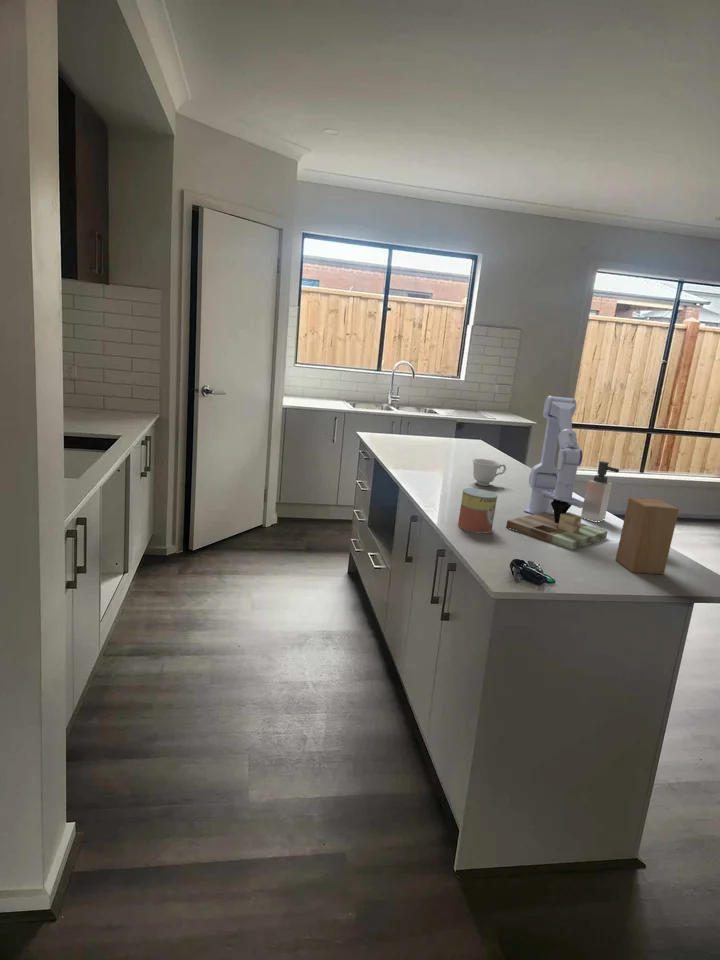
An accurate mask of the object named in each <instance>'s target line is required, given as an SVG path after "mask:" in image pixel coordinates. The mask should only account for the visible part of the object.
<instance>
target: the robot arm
mask: <svg viewBox="0 0 720 960" xmlns="http://www.w3.org/2000/svg"><path fill="white" fill-rule="evenodd" d="M576 410H577V401H576V398H574V397H571V398H570V397H564V396H563V397H562V396H552V395H548V396H546V399H545V401H544V404H543V411H542V412H543V413H542V418H544V419H546V425H545V433H544V438H543V445H542V451H541V457H540V462H539V463H537V464H536V465H533V467H532V468H531V471H530V473H529V477H528V486H529V488H531V495H530V501H529V505H528V508H526V509H523V512H526V513H529V514H531V515H533V514H537V513H541V512H546V513H549V514H553V515H554V518H555V523H557V524H559V520H560V514H562V513H566V512H568V511H569V509H570V508H571V507H572V506H574V507H577V508H579V509H583V506H584V500H581V499H577V498H574V497H573V493H574V488H575V487H574V486H575V484H576V483H575V482H576V476H577V471H578V467H580V466H581V464H582V462H583V450H582V448H581V446H579V445H578V439H577V433H576V431H574V430H573V426H572V425H573V422H572V421H573V419H572V418H573V416H574V414H575V413H576ZM558 443H559V452H558V455H557V460H558V461H557V467H556V466H555V459H556V452H557V448H558V447H557V446H558Z"/></svg>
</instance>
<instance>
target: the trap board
mask: <svg viewBox="0 0 720 960" xmlns="http://www.w3.org/2000/svg"><path fill="white" fill-rule="evenodd" d="M558 525H559V524H557V523H555V518H554V514H549V513H546V512H541V513H537V514H529V515H528V514H527V515H525V516H522V517H521V516H520V517H515V518H511V519H507V520H506V525H505V526H506V527H508V528H507V529H509V528H511V529H510V530H512V529H514V530H513V531H515V530H517V531H516V532H518V531H519V533H521V532H522V534H524V533H525V534H524V535H527V534H528V535H527V536H530V537H532V538H533V537H534V538H535V539H538V540H542V541H544V542H547V543H550V544H554V545H556V546H560V547H562V548H565V549H568V550H571V551H572V550H575V549H578V548H582V547H584V545H585V546H587V544H588V545H590V543H591V544H594V543H596V541H597V542H599V541H598V540H600V541H602V540H601V539H603V540H605V539H604V538H606V539H607V536H608V530H604V529H602V528H598V527H594V526H592V525H589V524H585V523H582V522H581V524H580V529H579V531H576V532H573V533H571V532H568V531H565V530H562V529H559V528H558ZM506 527H505V528H506ZM593 542H594V543H593Z"/></svg>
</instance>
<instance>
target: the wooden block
mask: <svg viewBox="0 0 720 960" xmlns="http://www.w3.org/2000/svg"><path fill="white" fill-rule="evenodd" d="M627 500H628V502H627V505H626V510H625V515H624V518H623V519H624V520H623V524H622V529H621V533H620V539H619V543H618V547H617V552H616V556H615V561H617V563H619V564H620V565H622V566H623V567H625V569H627V570H628V571H630V572H631V573H635V574H636V573H637V574H638V573H639V574H651V575H664V574H665V570H666V567H667V562H668V557H669V553H670V550H671V549H670V548H671V545H672V541H673V537H674V532H675V528H676V523H677V520H678V515H679V508H677V507H676V506H673V505H672V504H670V503H668V502H666V501H663V500H661V499H658V498H657V499H656V498H655V499H654V498H646V497H644V498H643V497H633V496H632V497H631V496H630V497H628V499H627Z"/></svg>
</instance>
